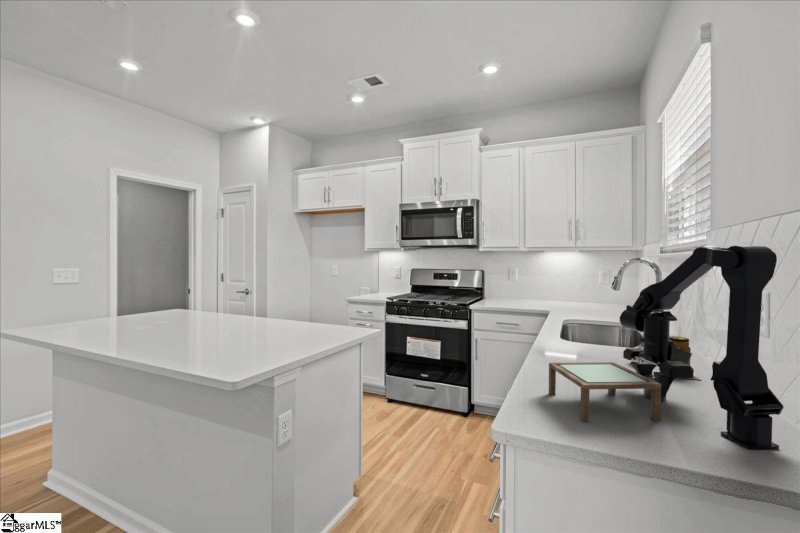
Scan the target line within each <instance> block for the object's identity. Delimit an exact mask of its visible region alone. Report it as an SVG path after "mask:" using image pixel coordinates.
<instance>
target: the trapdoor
mask: <svg viewBox="0 0 800 533" xmlns="http://www.w3.org/2000/svg"><path fill="white" fill-rule="evenodd" d="M560 367H561V368H563V369H565V370H566V371H568V372H569V373H571V374H573V375H574V376H576V377H577V378H579V379H581V380H582V381H584V382H585V383H639V382H647V381H645V380H643V379H641V378H638V377H636V376H634V375H632V374H630V373H628V372H626V371H624V370H622V369H619V368H617V367H615V366H613V365H611V364H586V365H560Z"/></svg>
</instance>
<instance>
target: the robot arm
mask: <svg viewBox="0 0 800 533" xmlns="http://www.w3.org/2000/svg"><path fill="white" fill-rule="evenodd" d="M777 258H778V257H777V253H776V252H774V251H773V250H772V249H771V248H769V247H768V246H764V245H731V246H729V247H726V248H725V247H720V246H714V245H713V246H712V245H711V246H709V245H707V246H705V245H703V246H699V247H696V248H695V249H694V250H693V251H692V254H690V256H689V257H687V258H686V259H685V260H683V262H682V263H680V264H679V266H677V267H676V268H675V269H674V270H673V271H672V272H670V273H669V274H668V275H667V276H665V278H664V279H662V280H661V281H658V282H656V283H652V284H649V286H647V287H645V288H643V289H641V291H640V292H639V294H638V297H637V299H636V300H635V302H634V303H633V305H632V304H631V305H628V304H627V305H626V307H625V308H626V309H625V310H623V311H622V312H621V314H620V316H619V323H620V325H621V326H622V327H624V328H625V329H629V330H633V331H635V332H636V331H637V332H642V333H643V335H642V336H643V337H639V342H640V343H642V347H643V349H642V348H634V347H631V348H630V347H627V348H625V349H624V350H623V353H622V354H623V356H622V358H623V359H625V360H628V361H630V365H632V367H633V369H634V370H635V372H636V373H638V374H640V375H642V376H644V375H646V374H652V375H654V378H655V382H658V383H660V384H661V398H665V396H666V397H667V394H668V392H669V390H670V387H671V386H672V384H673V382H674V381H675V380H676V379H685V378H686V379H688V378H693V377H694V374H695V369H694V368H693V366H691V364H690V365H687V364H689V361H690V362H691V358H692V355H693V352H691V351H690V352H687V351H684V350H681V349H679V348H676V347H675V344H674V342H673V341H671V340H669V337H670V328H671V327H670V323H671V322H677V320H678V318H677V317H676V316H675V315H674V314H672V313H671V311H669V310H672V309H673V308H675V306H676V305H677V303H678V302H680V300H681V295H682V293H683V292H684V291H685V290H686V289H688V288H689V287H690V286H691V285H693V284H694V283H695V282H696V281H697V280H699V279H700V278H702V277H703V276H704V275H705V274H706V273H708V272H709V271H710V270H711V269H713V268H714V267H718V268H720V272H721V276H722V278H723V279H724V281H725V283H726V284H727V286H728V288H729V295H728V296H729V297H728V298H729V300H728V313H727V314H728V316H727V318H728V319H727V330H726V331H727V334H726V335H727V336H726V348H725V349H726V353H725V356H724V358H723V359H722V360H721V361H713V362H712V365H711V367H712V375H711V378H710V381H713V383H712V384H713V389H714V391H715V392H716V396H717V400H718V403H719V406H720V409H723V410H725V411H726V431H725V430H724V431H722V430H721V431H720V435H722V436H723V437H725V438H727V439H729V440H731V441H733V442H735V443H737V444H738V445H741V446H742V447H745V448H746V449H749V450H760V449H761V450H765V449H767V450H769V449H773V450H774V449H780V445H779V444H777V443H774V442H773V417H772V416H771V415H776V416H777V415H781V413H782V411H783V409H784V404H782V402H781V401H780V400H779V399H778V397H777V396H776V395H775V394H774V392H773V391H772V389H770V387H769V382H768V375H767V373H766V370H765V369H764V368H763V366H762V364H761V362H760V361H759V352H760V351H759V350H760V333H761V319H762V306H763V305H762V302H763V291H764V289H765V288H766V287H767V285H768V283H769V282H770V281H771V279H772V278H773V277H774V273H775V269H776V266H777V260H778V259H777ZM632 359H633V362H632ZM675 360H676V361H679V362H668V361H675ZM680 361H681V362H684V363H685V364H684V363H681V362H680ZM656 367H658V370H659V371H654V369H656ZM747 402H749V403H747Z"/></svg>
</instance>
